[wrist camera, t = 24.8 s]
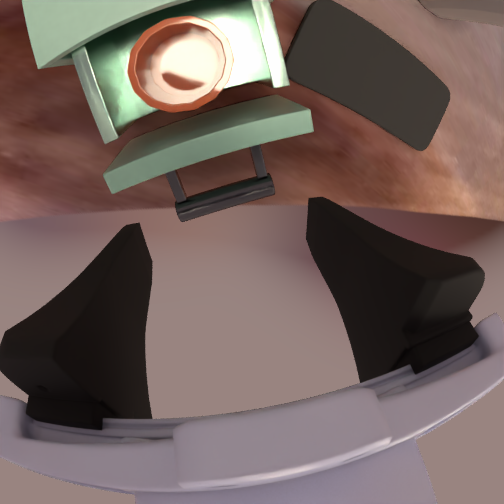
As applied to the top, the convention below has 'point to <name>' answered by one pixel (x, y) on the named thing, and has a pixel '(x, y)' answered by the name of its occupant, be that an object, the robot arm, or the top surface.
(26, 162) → the top surface
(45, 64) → the green rectangular box
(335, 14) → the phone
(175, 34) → the small cup
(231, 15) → the drawer
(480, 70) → the top surface
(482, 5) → the cup
